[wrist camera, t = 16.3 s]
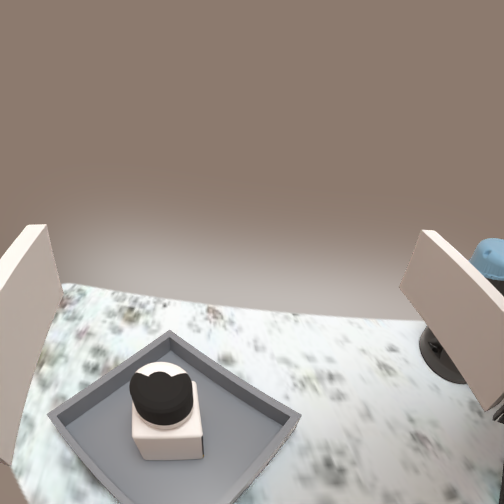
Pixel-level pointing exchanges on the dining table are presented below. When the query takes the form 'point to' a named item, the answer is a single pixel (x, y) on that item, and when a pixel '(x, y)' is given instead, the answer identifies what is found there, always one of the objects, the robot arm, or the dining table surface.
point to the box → (213, 427)
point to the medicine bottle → (166, 413)
